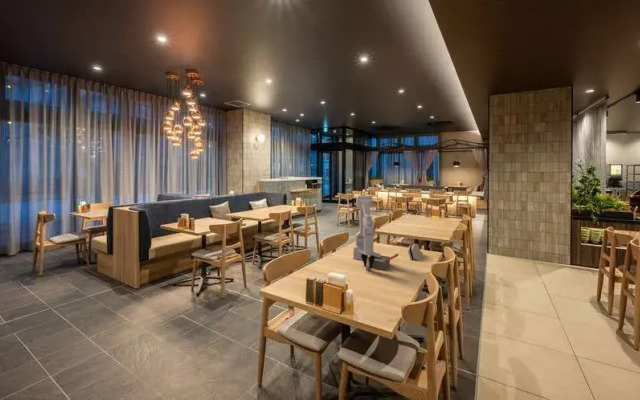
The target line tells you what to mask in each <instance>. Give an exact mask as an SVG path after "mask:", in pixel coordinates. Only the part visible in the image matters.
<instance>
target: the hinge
mask: <svg viewBox="0 0 640 400" xmlns="http://www.w3.org/2000/svg"><path fill="white" fill-rule="evenodd" d="M407 253H408V255H409V260H410V261H413V260H416V261H417V262H419V261H420V259H421V258H423V256H424V253H423V252H422V251H421V249H420V246H419V244H418V243H414V244H413V243H412V244H411V245H409V246H408V248H407Z"/></svg>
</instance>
